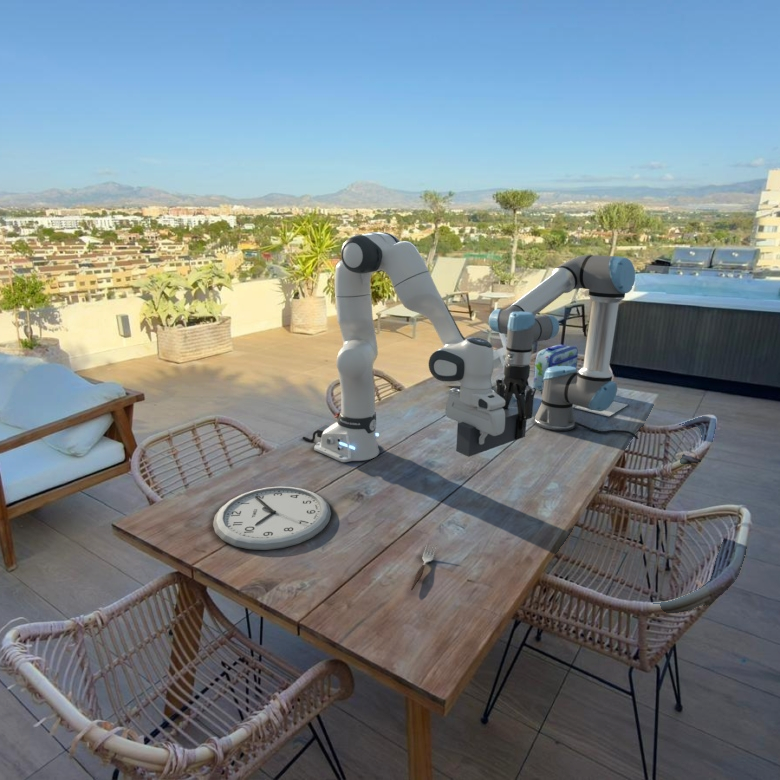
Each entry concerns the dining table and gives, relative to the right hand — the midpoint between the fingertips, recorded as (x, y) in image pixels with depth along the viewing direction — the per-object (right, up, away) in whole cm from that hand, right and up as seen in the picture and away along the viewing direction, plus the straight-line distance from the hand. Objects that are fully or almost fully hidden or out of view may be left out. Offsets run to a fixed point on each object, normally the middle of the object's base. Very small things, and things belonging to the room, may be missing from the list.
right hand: (511, 435), depth 164 cm
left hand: (-14, 0, -11) cm, 18 cm away
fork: (-31, -26, -48) cm, 63 cm away
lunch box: (+40, +14, +86) cm, 96 cm away
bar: (-7, -2, -5) cm, 9 cm away
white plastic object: (+4, +13, +79) cm, 80 cm away
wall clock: (-69, -19, -28) cm, 76 cm away
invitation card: (+53, +7, +62) cm, 82 cm away
